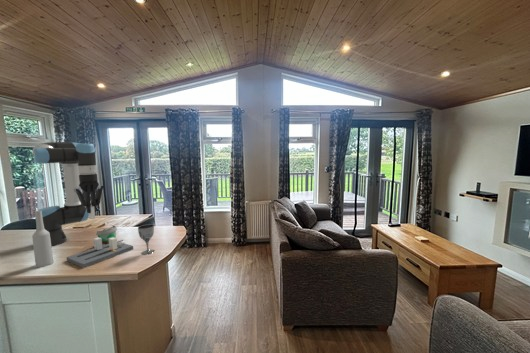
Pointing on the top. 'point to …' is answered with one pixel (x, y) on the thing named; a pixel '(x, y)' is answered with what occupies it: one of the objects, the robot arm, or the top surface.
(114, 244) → the fader
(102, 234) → the food container
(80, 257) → the console
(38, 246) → the bottle
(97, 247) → the fader
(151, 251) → the wine glass
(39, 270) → the top surface
